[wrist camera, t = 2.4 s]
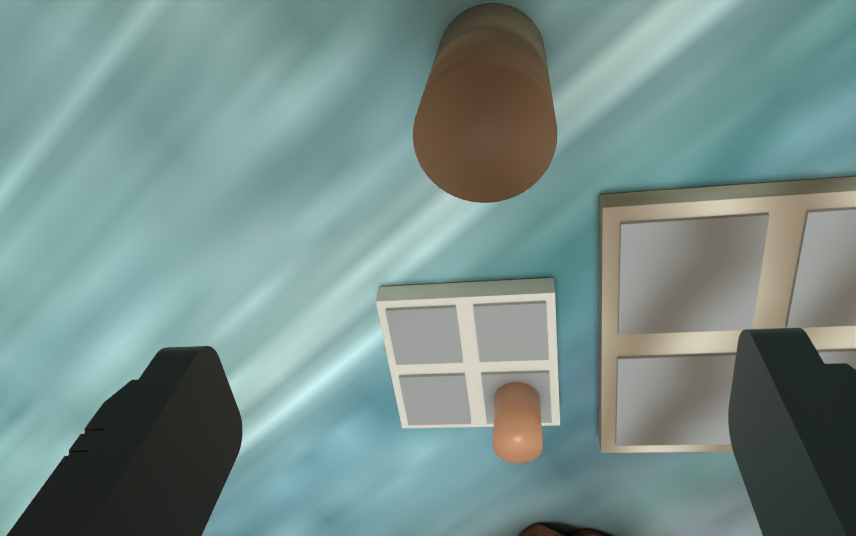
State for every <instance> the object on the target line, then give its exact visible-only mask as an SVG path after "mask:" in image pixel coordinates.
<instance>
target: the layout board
mask: <svg viewBox="0 0 856 536" xmlns="http://www.w3.org/2000/svg"><path fill="white" fill-rule="evenodd" d="M772 328H802V329H803V330H804V331H805V332H806V333H807V335H808V336H809V338H810V340H811V341H812V343H813V345H814V346H815V348H816V350H817V352H818V353H819V355H820V357H821V358H822V360H823V362H824V363H825V364H835V363H847V364H849V365H850V366H851V367H853V368H854V369H855V370H856V177H842V178H827V179H813V180H799V181H785V182H771V183H757V184H742V185H728V186H714V187H700V188H686V189H671V190H657V191H643V192H629V193H615V194H600V195H599V442H600V449H601V453H630V452H711V451H733V449H732V445H731V440H730V434H729V425H728V409H729V401H730V394H731V387H732V380H733V373H734V366H735V359H736V351H737V344H738V339H739V335H740V333H741V332H742V330H744V329H772Z"/></svg>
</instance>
